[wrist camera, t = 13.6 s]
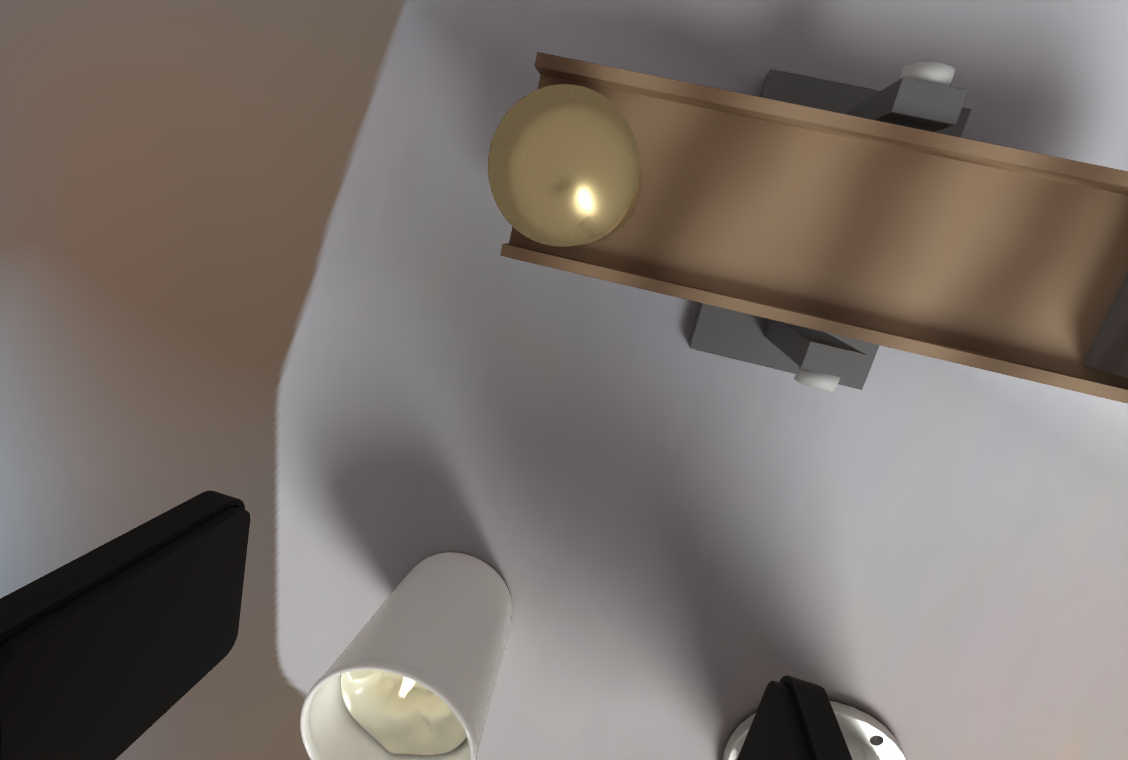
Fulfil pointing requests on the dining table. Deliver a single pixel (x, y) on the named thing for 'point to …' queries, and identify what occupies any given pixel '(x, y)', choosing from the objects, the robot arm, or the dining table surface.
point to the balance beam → (865, 230)
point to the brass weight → (565, 166)
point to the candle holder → (416, 669)
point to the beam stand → (801, 349)
